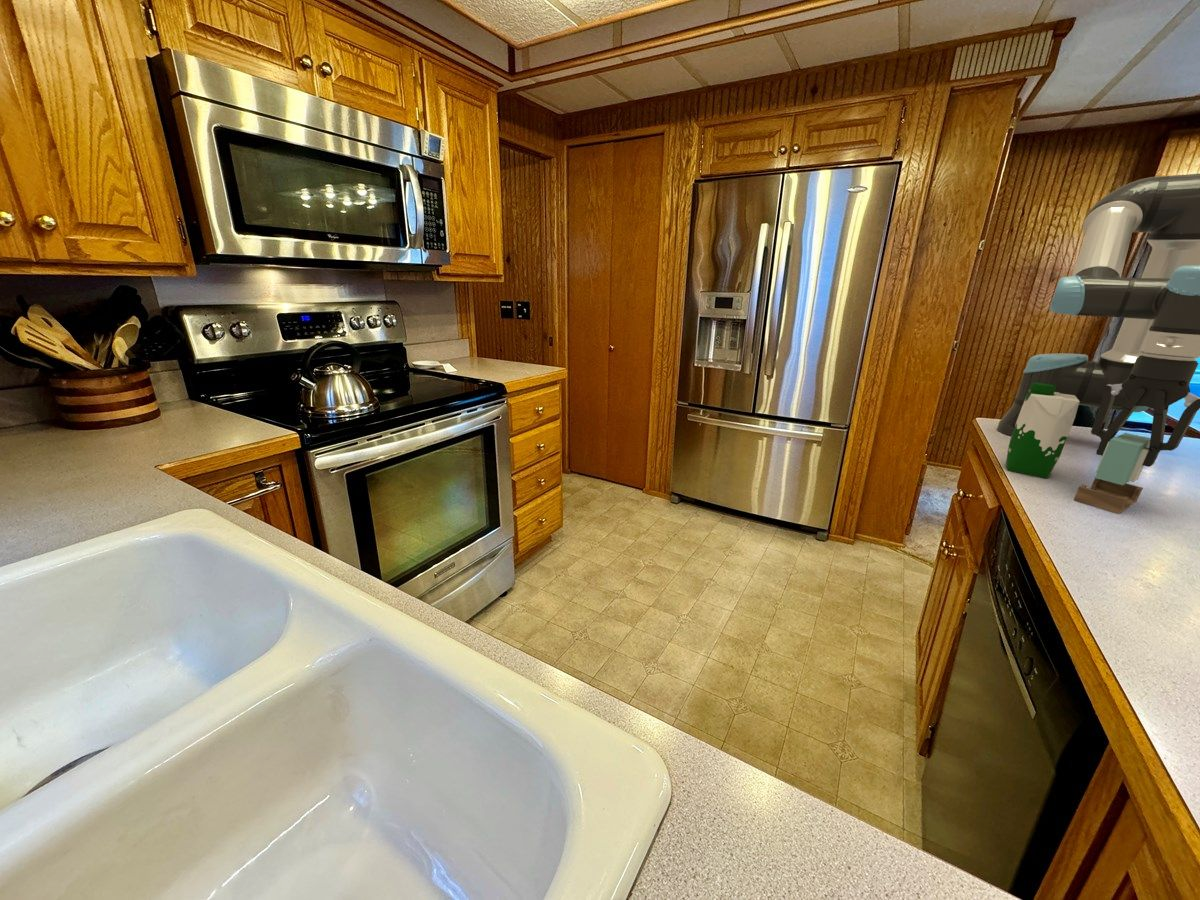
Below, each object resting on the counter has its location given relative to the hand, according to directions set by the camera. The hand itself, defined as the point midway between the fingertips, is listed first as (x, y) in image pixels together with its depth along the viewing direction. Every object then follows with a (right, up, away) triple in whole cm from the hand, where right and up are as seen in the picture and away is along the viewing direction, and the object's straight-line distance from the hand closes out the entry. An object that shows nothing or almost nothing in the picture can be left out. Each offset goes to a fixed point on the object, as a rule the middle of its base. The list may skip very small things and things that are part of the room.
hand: (1116, 475), depth 95 cm
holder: (0, -5, +2) cm, 6 cm away
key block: (0, 0, 0) cm, 0 cm away
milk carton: (-3, 0, +17) cm, 17 cm away
